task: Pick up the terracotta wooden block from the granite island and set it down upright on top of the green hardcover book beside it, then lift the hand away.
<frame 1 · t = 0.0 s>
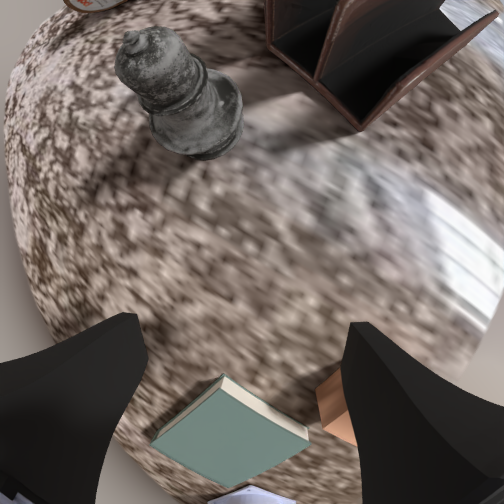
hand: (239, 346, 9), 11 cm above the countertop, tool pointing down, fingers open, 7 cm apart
block: (351, 384, 20), on the countertop
salt shaker: (207, 125, 18), on the countertop
letter holder: (385, 38, 15), on the countertop
book: (227, 433, 22), on the countertop
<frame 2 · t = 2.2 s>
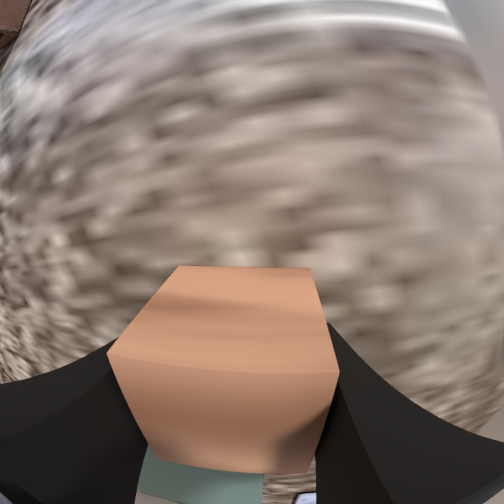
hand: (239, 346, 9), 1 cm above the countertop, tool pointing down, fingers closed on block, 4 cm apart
block: (244, 323, 10), on the countertop, touching gripper
book: (191, 455, 14), on the countertop
when the fingers open (5 cm above the countertop, at t = 7.0 s): block drops 1 cm, point 2 cm above the countertop.
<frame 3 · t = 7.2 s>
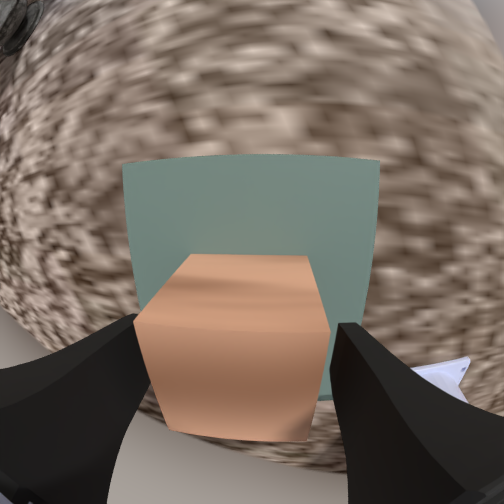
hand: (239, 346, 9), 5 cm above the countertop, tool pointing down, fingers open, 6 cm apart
block: (248, 306, 11), point 2 cm above the countertop
salt shaker: (23, 28, 9), on the countertop
book: (252, 281, 13), on the countertop
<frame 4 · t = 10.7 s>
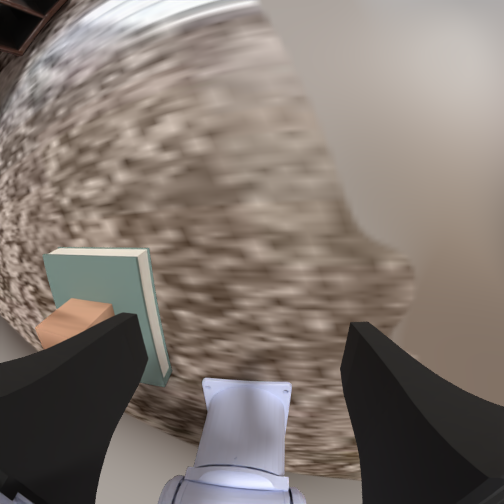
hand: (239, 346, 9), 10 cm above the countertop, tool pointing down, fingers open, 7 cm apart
block: (97, 324, 19), point 2 cm above the countertop, touching book
book: (112, 310, 22), on the countertop, touching block
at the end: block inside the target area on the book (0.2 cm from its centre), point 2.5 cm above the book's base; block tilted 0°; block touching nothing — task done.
